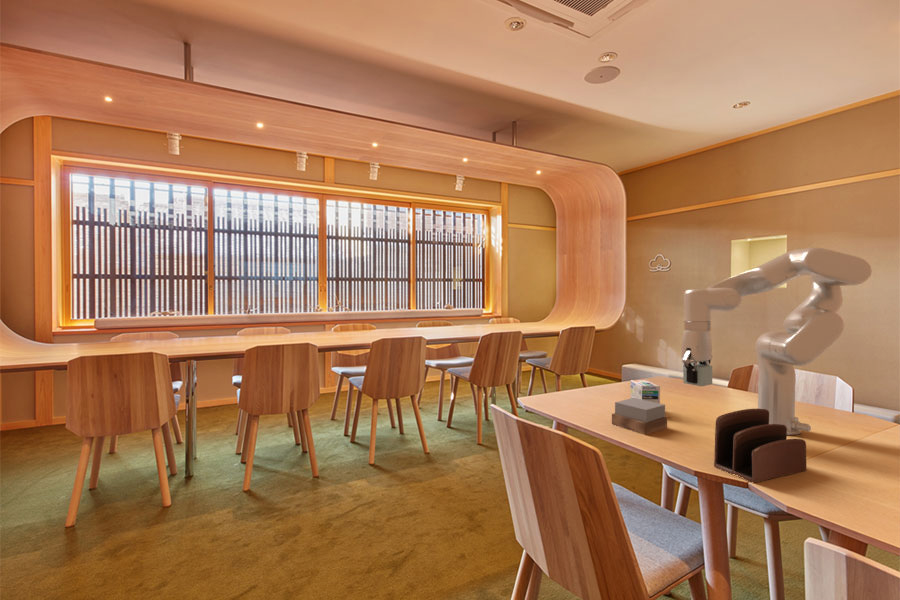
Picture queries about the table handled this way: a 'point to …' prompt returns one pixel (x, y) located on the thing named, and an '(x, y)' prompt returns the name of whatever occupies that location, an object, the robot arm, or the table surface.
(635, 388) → the light bulb box
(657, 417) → the grey slab
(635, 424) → the walnut slab
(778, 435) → the letter holder
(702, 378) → the blue-grey block
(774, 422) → the robot arm
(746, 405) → the table surface
